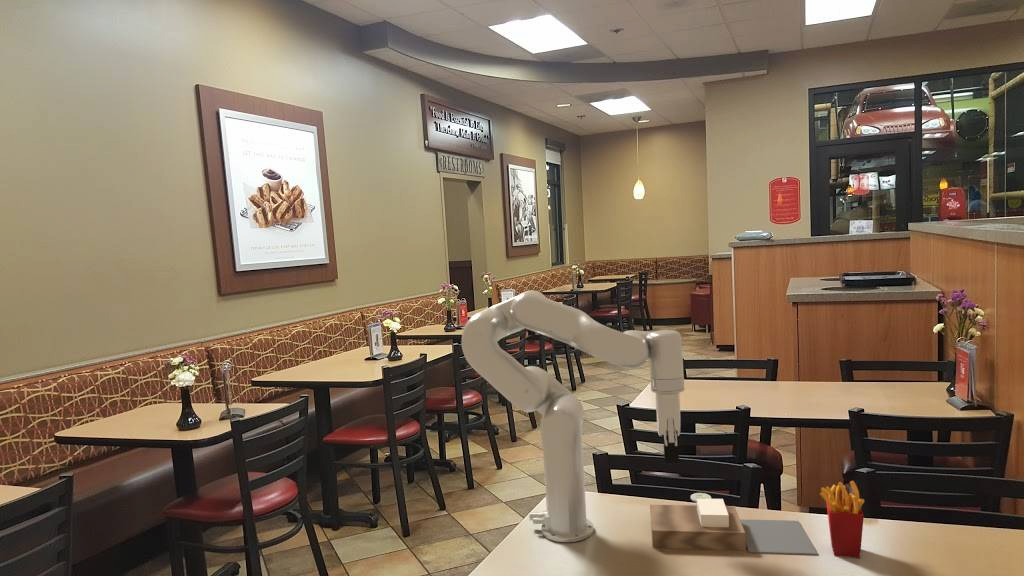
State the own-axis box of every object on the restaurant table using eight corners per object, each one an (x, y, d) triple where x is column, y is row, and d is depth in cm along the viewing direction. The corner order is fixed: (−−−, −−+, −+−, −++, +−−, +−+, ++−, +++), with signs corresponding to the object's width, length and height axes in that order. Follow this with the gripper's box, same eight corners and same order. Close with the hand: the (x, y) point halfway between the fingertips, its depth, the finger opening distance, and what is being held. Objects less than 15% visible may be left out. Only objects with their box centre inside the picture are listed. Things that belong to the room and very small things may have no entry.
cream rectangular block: (701, 526, 142) (700, 514, 142) (697, 509, 151) (696, 498, 151) (729, 527, 141) (728, 515, 141) (723, 510, 150) (722, 498, 150)
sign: (690, 517, 156) (690, 492, 170) (690, 520, 156) (690, 495, 170) (712, 518, 154) (710, 493, 168) (712, 521, 154) (711, 496, 168)
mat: (748, 552, 137) (748, 551, 137) (736, 520, 153) (736, 519, 153) (817, 554, 134) (817, 553, 134) (798, 521, 150) (798, 520, 150)
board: (652, 547, 142) (651, 530, 142) (650, 520, 156) (649, 504, 155) (745, 550, 138) (745, 532, 138) (735, 522, 152) (734, 506, 152)
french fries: (866, 561, 131) (864, 491, 130) (822, 556, 134) (820, 488, 133) (858, 541, 139) (857, 475, 138) (817, 537, 142) (815, 473, 141)
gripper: (649, 377, 153) (654, 451, 155) (651, 392, 139) (656, 473, 140) (681, 376, 152) (685, 450, 153) (686, 391, 137) (691, 473, 139)
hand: (671, 461), depth 147 cm, fingers closed
